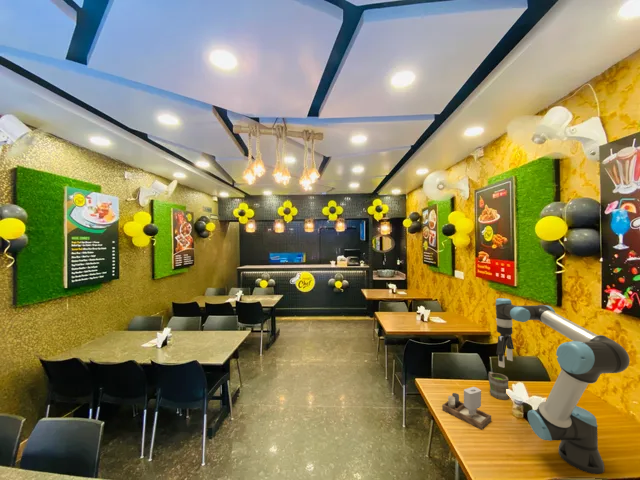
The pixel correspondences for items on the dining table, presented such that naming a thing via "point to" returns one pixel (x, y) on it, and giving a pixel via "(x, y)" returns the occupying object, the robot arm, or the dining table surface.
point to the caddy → (465, 412)
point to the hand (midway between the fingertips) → (505, 363)
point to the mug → (498, 385)
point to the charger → (472, 399)
